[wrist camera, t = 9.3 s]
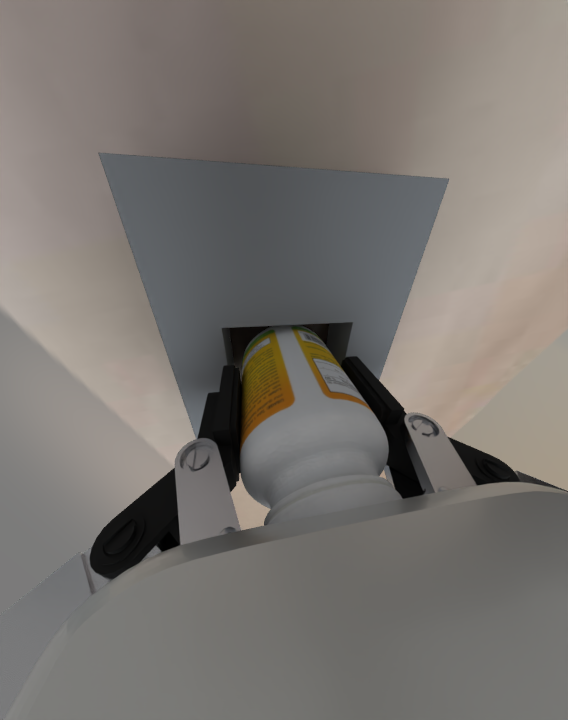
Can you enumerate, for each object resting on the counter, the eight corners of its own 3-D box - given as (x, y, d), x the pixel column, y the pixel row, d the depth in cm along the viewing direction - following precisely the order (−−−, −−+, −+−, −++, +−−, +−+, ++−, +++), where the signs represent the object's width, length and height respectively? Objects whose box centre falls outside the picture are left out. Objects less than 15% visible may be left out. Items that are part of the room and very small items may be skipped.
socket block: (142, 176, 8) (98, 152, 6) (399, 192, 10) (449, 178, 8) (214, 442, 18) (209, 476, 16) (339, 426, 20) (353, 454, 17)
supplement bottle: (249, 397, 14) (255, 619, 6) (233, 328, 11) (202, 581, 3) (323, 385, 15) (419, 575, 7) (326, 315, 12) (509, 505, 4)
